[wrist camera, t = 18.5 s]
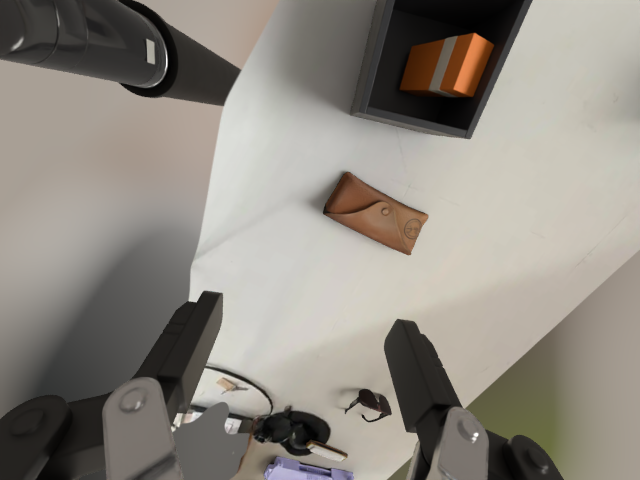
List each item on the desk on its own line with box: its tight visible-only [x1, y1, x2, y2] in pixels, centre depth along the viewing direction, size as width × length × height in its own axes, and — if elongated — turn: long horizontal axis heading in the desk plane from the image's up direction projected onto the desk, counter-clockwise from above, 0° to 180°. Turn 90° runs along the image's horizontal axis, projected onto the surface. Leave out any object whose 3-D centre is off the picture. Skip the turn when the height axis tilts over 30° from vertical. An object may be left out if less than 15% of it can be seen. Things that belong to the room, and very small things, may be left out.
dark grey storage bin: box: [350, 0, 532, 139], centre depth 30 cm, size 14×14×11 cm
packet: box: [399, 33, 494, 98], centre depth 30 cm, size 4×5×9 cm
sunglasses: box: [345, 389, 392, 422], centre depth 67 cm, size 10×12×5 cm
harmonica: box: [306, 440, 347, 462], centre depth 79 cm, size 15×3×2 cm, turn 55°
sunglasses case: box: [323, 172, 428, 255], centre depth 43 cm, size 18×7×7 cm
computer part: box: [264, 456, 354, 480], centre depth 85 cm, size 30×4×15 cm
